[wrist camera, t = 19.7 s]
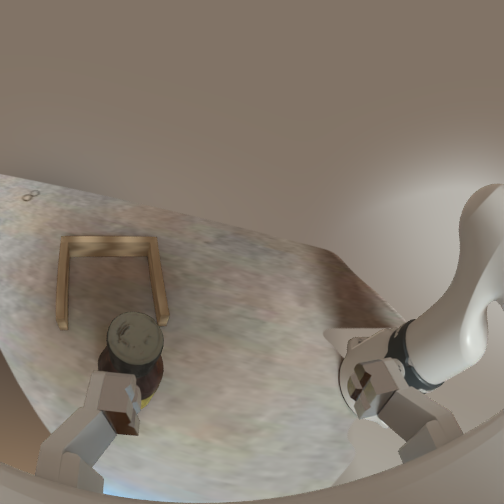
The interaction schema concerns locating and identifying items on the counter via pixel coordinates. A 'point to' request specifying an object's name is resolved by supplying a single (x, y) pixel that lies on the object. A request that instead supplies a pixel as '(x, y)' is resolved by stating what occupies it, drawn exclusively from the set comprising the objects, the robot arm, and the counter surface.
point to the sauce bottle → (135, 351)
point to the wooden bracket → (109, 248)
